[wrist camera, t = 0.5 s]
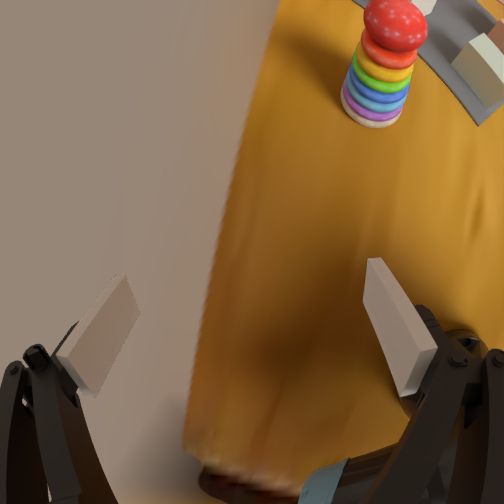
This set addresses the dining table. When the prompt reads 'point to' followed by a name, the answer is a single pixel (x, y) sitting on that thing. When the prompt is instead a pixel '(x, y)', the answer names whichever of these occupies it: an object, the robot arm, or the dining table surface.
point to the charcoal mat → (454, 46)
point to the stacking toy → (383, 62)
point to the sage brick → (482, 69)
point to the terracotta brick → (498, 35)
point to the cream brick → (424, 5)
